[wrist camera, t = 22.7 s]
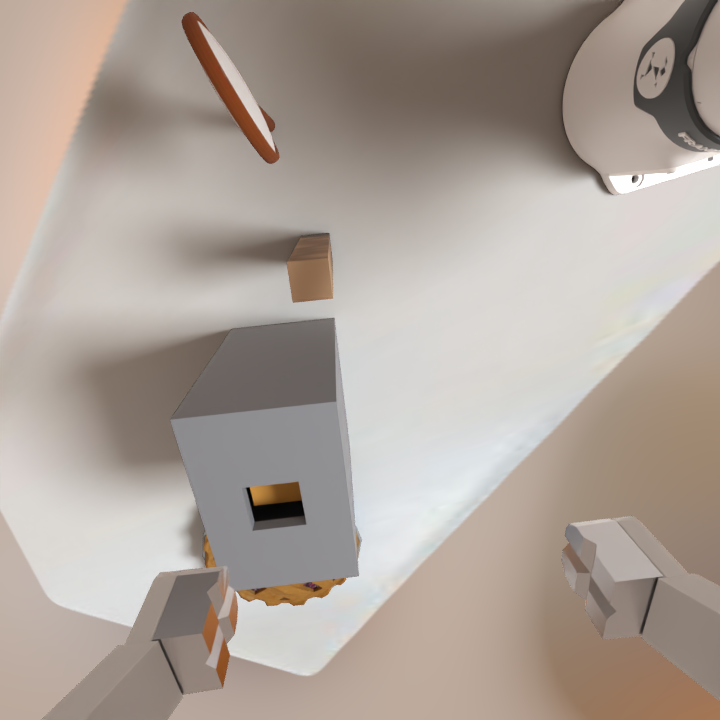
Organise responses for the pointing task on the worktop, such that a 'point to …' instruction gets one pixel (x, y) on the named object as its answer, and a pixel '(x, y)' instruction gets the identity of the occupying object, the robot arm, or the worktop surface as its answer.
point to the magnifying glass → (231, 88)
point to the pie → (284, 593)
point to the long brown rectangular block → (311, 269)
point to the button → (276, 493)
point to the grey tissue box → (272, 455)
